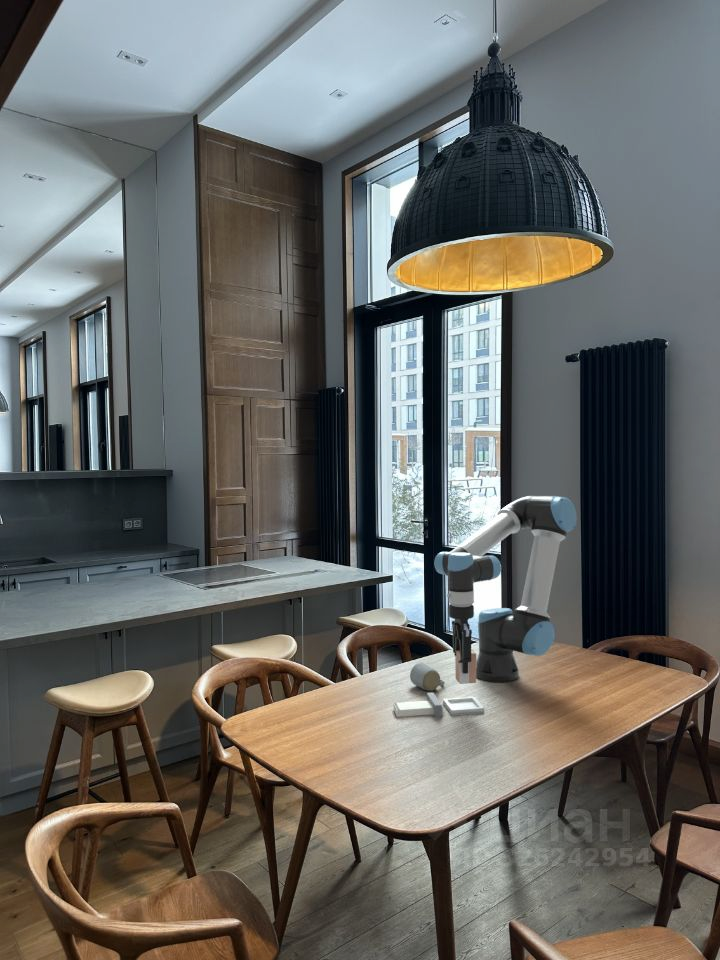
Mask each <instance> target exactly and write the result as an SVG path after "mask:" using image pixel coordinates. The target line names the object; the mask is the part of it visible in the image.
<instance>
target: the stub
mask: <svg viewBox="0 0 720 960" xmlns="http://www.w3.org/2000/svg"><path fill="white" fill-rule="evenodd" d="M477 658H478V657H477V652H476V651H474V650H473V649H471V662H469V683H468V684H477V677H476V668H477ZM460 660H461V659H460V650H457V651H456V676H455V681H457V683H459V684H460V663H459V662H458V661H460Z"/></svg>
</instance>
